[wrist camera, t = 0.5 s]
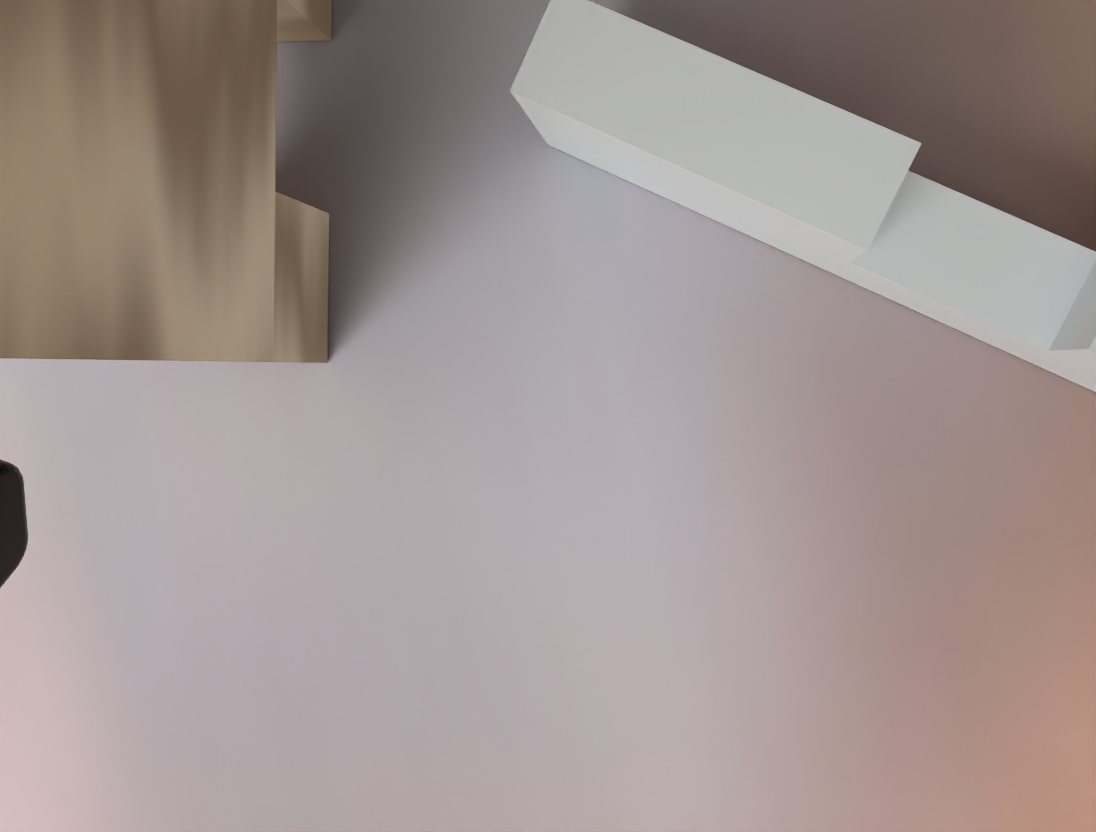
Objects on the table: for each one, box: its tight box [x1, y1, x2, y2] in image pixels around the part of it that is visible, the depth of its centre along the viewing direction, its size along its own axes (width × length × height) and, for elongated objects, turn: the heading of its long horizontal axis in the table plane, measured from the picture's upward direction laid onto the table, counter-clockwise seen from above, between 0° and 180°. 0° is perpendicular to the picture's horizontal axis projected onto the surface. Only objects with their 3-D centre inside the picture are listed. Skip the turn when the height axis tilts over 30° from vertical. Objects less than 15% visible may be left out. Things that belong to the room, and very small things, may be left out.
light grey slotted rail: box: [510, 0, 1096, 392], centre depth 19 cm, size 18×2×4 cm, turn 65°
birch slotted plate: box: [0, 0, 332, 363], centre depth 18 cm, size 12×2×12 cm, turn 179°
